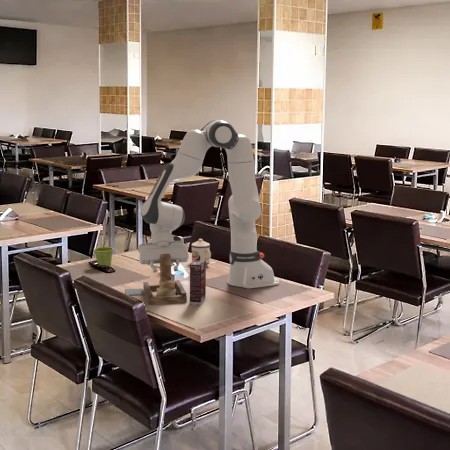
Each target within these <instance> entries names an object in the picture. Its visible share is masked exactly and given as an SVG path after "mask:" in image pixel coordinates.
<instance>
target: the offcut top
mask: <svg viewBox="0 0 450 450" xmlns="http://www.w3.org/2000/svg"><path fill="white" fill-rule="evenodd" d="M158 284H159V289H161V290H162V291H168V290H176V289H175V281H174V280H172V279H171V280H166V281H160V280H159V283H158Z"/></svg>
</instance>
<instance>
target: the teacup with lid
mask: <svg viewBox="0 0 450 450" xmlns="http://www.w3.org/2000/svg"><path fill="white" fill-rule="evenodd" d="M210 246H211V245H210V243H209V242H206V241H204V240H203V239H202V238H198V240H196V241H194V242H192V243H191V264H192V263H193V262H194V261H195V260H206V265H207V263H208V264H209V263H210V259H211V257H212V252H211V251H210V248H211V247H210Z"/></svg>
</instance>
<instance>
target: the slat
mask: <svg viewBox="0 0 450 450" xmlns="http://www.w3.org/2000/svg"><path fill="white" fill-rule="evenodd" d="M166 280H172V263H171V255H170V254H160V263H159V281H166Z"/></svg>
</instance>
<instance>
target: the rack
mask: <svg viewBox="0 0 450 450" xmlns="http://www.w3.org/2000/svg"><path fill="white" fill-rule="evenodd" d="M174 282H175V290H176V294H177V295H173V296H157V295H156V296H154V295H153V291H157V288H159V283H158V284H157V283H156V284H149V281H144V282H143V288H142V290H143V293H144V295H145V298H146V301H147V303H148V305H159V304H161V305H163V304H177V303H188V302H187V301H188V298H187V297H188V295H187V291H186V289H185V288H184V286H183V284H182V283H181V281H180V280H179V279H175V280H174Z"/></svg>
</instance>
